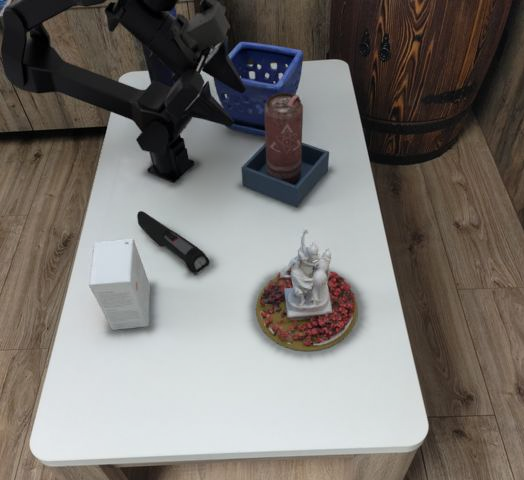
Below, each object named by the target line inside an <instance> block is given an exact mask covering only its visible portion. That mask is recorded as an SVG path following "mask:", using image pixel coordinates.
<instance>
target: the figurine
mask: <svg viewBox="0 0 524 480" xmlns="http://www.w3.org/2000/svg"><path fill="white" fill-rule="evenodd" d="M308 230H309V228H307V229H305V228H304V229H303V231H302V235H301V237H300V246H299V247H298V249H297V255H295V256H294V257H292V258H291V259H290V261H289V262H288V265H287V267H285V269H284V270H282V272H281V271H279V273H276V275H277V276H276V277H274V278H272V279H270V281H269V282H268V283H267V284H266V285H265V286H264V287H263V288H262V290H261V291H260V293H259V295H258V297H257V299H256V304H255V313H256V314H255V315H256V320H257V322H258V325H259V326H260V328H261V330H262V332H263V333H264V334H265V335H266V336H267V337H268V338H269V339H270V340H271V341H273V342H275V343H276V344H278V345H279V346H282V347H285V348H287V349H290V350H294V351H298V352H300V351H301V352H315V351H316V352H317V351H321V350H326V349H329V348H331V347H333V346H336V345H337V344H338V343H340V342H342V341H343V340H345V339H346V337H348V335H350V333H351V332H352V330H353V329H354V327H355V325H356V322H357V320H358V319H357V318H358V313H359V311H358V308H359V307H358V302H357V299H356V294H355V293H354V292H353V291H352V290H351V288H352V287H351V285H350V282H348V283H347V282H346V279H345V278H344V277H342V276H341V275H339V274H338V272H336V271H330V264H331V261H332V252H331V251H330V248H326V249H325V252H323V253H322V255H321V254H320V252H319V251H320V250H319V246H318V245H317V243H316V242H314V241H313V242H312V243H311V244H310V245H309V247H308V246H306V245H305V244H306V243H305V235H307V234H309V231H308Z"/></svg>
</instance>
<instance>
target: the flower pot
mask: <svg viewBox="0 0 524 480" xmlns="http://www.w3.org/2000/svg"><path fill="white" fill-rule="evenodd" d="M228 55H229V57H230V59H231V61H232V63H233V65H234V67H235V69H236V71H237V73H238V74H239V76H240V78H241V80H242V82H243V83H244V85H245V87H246V90H245V92H244V93H239V92H237V91H235V90H234V89H232V88H230V87H229V86H227V85H225V84H224V83H222V82H220V81H219V80H217V79H215V78H214V77H212V78H213V82H214V87H215V90H216V91H215V92H216V94H217V97H218V100H219V103H220V105H221V106H222V107H223V108H224V109H225V111H226V112H227V113H228V114H229V115H230V116H231V118H232V119H233V120H234V124H233V125H232V126H231V127H228V126H225V127H226V129H229V130H231V131H235V132H239V133H243V134H248V135H253V136H256V137H261V138H265V113H264V109H265V105H266V103H267V100H268V98H270V97H271V96H272V95H275V94H278V93H290V94H294V95H297V92H298V89H299V85H300V81H301V76H302V70H303V62H304V52H303V50H301V49H295V48H290V47H284V46H278V45H272V44H265V43H264V44H263V43H260V42H259V43H258V42H250V41H240V42H238V44H236V46H234V47H233V49H232V50H231V51H230V52H229V53H228ZM249 60H250V61H251V62H252V65H250V64H248V61H249ZM272 63H276V68H272V65H271V64H272ZM258 65H259V66H260V68H258ZM250 72H254V78H251V77H250ZM266 74H268V77H267V76H266ZM279 74H282V76H281V77H280V75H279Z"/></svg>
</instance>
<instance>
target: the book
mask: <svg viewBox="0 0 524 480" xmlns="http://www.w3.org/2000/svg"><path fill="white" fill-rule="evenodd" d="M176 9H177V8H176V6H175V7H174V8H173V9H172V10H170V11H168V12H169V13H170V14H171V15H172V16H173V17H174V18H175V17H176V16H177V15H178V14H177V10H176ZM140 43H141V42H140ZM146 47H147V46H146ZM146 47H145V46H144V45H143V44H142V43H141V48H142V53H143V56H144V60H145V64H146V69H147V72H148V77H149V81H150V84H151V83H152V82H153V81H158V82H160V83H162V84H164V85H166V86H169V87H173V85H174V84H175V83H176V82H174V81H173V80H172V77H173V75H174V73H173V72H172V71H171V70H170V69H169V68H168V67H167V66H166V65H165V64H164V63H162V62H161V61H160V60H159V59H157V60H156V62H155V63H154V62H152V61H151V60H150V59H149V57H150V55H151V53H152V52H150V51H149V50H148V49H147V48H146Z"/></svg>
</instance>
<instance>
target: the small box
mask: <svg viewBox="0 0 524 480" xmlns="http://www.w3.org/2000/svg"><path fill="white" fill-rule="evenodd" d="M88 287H89V288H90V290H91V292H92V294H93V296H94V298H95V299H96V302H97V303H98V306H99V307H100V309H101V311H102V313H103V315H104V317H105V319H106V320H107V322H108V325H109V326H110V328H111V330H113V331H114V330H125V329H135V328H146V327H149V325H150V322H149V321H150V299H151V298H150V295H151V284H150V281H149V278H148V276H147V273H146V270H145V266H144V264H143V262H142V259H141V255H140V253H139V250H138V248H137V245H136V242H135V239H134V238H126V239H115V240H103V241H95V242H93V249H92V257H91V265H90V274H89V282H88Z"/></svg>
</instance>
